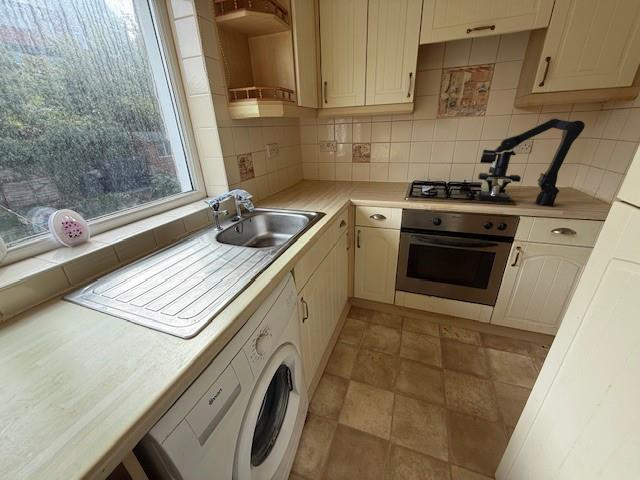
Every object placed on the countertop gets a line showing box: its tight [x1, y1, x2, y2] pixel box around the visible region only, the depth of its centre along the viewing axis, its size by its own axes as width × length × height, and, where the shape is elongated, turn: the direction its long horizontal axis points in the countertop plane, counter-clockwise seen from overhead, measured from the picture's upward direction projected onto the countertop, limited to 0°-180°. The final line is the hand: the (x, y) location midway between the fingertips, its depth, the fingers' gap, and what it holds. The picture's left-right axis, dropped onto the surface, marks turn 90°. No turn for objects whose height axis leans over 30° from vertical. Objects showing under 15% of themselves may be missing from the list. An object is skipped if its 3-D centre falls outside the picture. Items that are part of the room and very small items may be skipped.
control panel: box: [478, 190, 511, 204], centre depth 145 cm, size 13×10×3 cm
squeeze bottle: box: [480, 161, 499, 192], centre depth 155 cm, size 8×8×18 cm
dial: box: [490, 184, 502, 195], centre depth 144 cm, size 4×4×5 cm
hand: (494, 193), depth 144 cm, fingers closed on dial, 4 cm apart
